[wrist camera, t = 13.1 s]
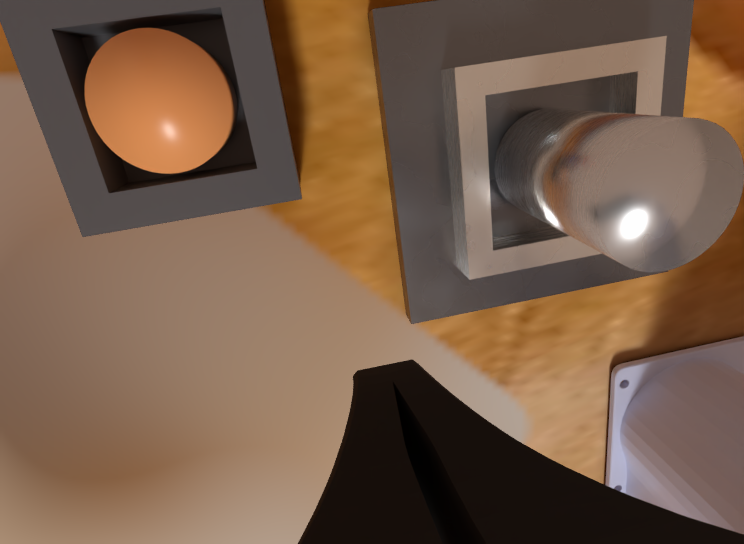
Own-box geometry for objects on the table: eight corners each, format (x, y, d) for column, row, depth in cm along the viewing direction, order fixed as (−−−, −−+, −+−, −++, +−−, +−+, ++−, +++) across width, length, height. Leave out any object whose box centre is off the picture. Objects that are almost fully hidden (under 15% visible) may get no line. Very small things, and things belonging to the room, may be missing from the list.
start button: (249, 155, 16) (244, 161, 15) (131, 174, 16) (112, 183, 14) (220, 27, 15) (211, 18, 13) (89, 45, 15) (62, 38, 13)
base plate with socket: (652, 264, 22) (694, 283, 20) (406, 314, 21) (420, 340, 19) (676, -29, 18) (733, -47, 16) (367, 14, 17) (380, 0, 14)
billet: (583, 209, 20) (722, 267, 13) (490, 214, 19) (587, 276, 13) (598, 106, 18) (762, 115, 12) (498, 109, 18) (612, 120, 11)
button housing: (299, 183, 18) (301, 198, 16) (115, 215, 18) (82, 237, 15) (259, -22, 16) (253, -48, 13) (41, 5, 15) (-14, -16, 12)
